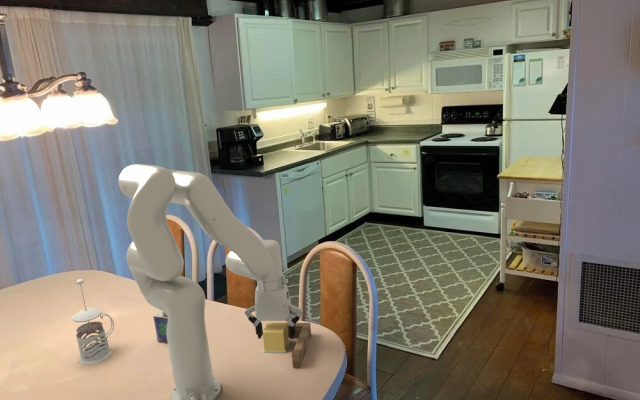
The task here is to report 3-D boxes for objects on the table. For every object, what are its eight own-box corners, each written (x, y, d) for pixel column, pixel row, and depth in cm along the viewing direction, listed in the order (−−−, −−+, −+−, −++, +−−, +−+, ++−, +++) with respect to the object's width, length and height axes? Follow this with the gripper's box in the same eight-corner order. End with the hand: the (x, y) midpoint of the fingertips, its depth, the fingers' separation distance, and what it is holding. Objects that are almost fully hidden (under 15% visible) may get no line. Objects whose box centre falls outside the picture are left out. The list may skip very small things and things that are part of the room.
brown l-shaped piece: (300, 368, 133) (298, 354, 132) (256, 367, 135) (255, 354, 134) (311, 334, 150) (310, 322, 150) (272, 334, 152) (271, 322, 152)
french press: (73, 356, 149) (57, 280, 143) (112, 341, 156) (98, 268, 151) (82, 369, 142) (65, 289, 136) (123, 353, 149) (108, 276, 143)
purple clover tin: (155, 341, 154) (150, 310, 152) (162, 337, 157) (157, 306, 154) (178, 346, 150) (173, 314, 148) (184, 341, 153) (180, 310, 150)
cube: (288, 340, 148) (287, 322, 146) (284, 351, 142) (282, 332, 140) (269, 340, 149) (267, 322, 147) (264, 351, 143) (262, 332, 141)
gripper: (302, 277, 143) (307, 330, 147) (245, 278, 146) (251, 330, 149) (297, 287, 135) (302, 343, 139) (237, 288, 138) (244, 343, 142)
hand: (276, 336), depth 144 cm, fingers open, 9 cm apart
